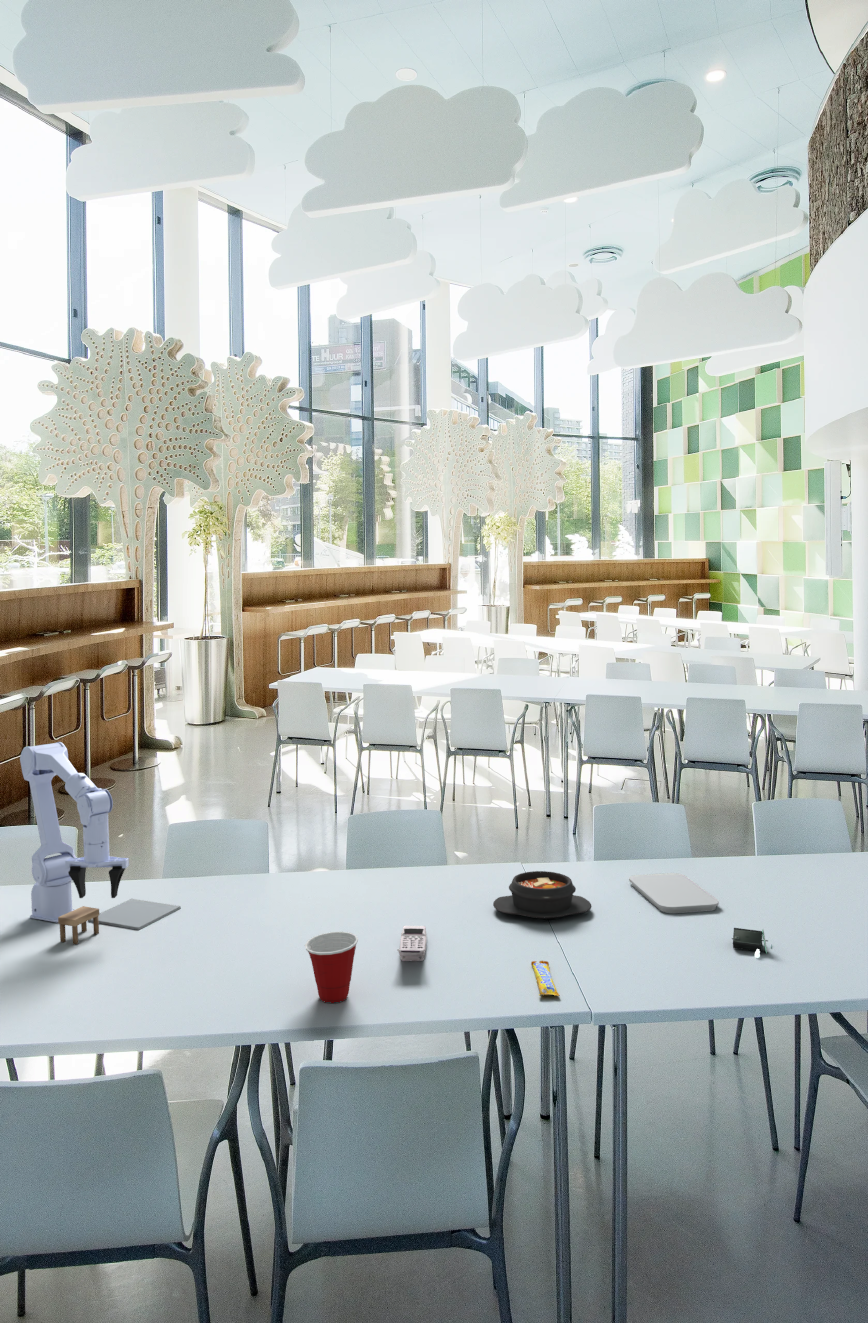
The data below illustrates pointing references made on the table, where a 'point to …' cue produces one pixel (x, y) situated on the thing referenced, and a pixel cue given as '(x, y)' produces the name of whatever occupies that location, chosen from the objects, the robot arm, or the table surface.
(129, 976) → the table surface
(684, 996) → the table surface
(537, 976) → the candy bar
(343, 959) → the plastic cup
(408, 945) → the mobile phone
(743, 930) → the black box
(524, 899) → the casserole
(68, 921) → the stool
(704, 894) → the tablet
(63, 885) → the robot arm
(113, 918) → the mat
